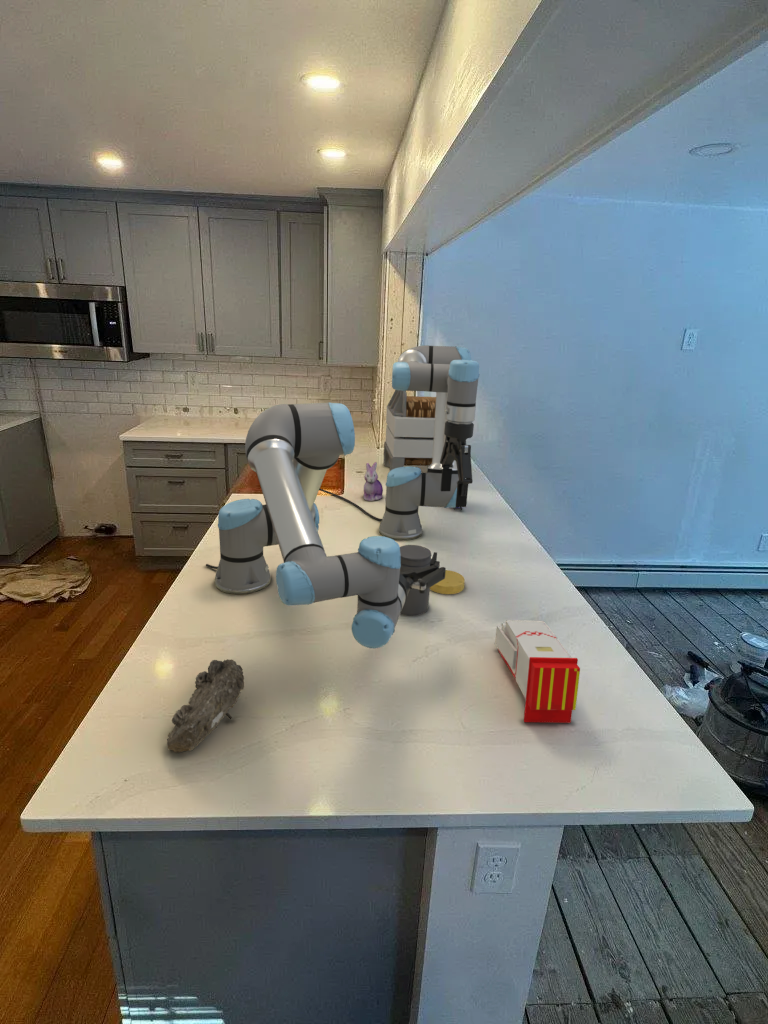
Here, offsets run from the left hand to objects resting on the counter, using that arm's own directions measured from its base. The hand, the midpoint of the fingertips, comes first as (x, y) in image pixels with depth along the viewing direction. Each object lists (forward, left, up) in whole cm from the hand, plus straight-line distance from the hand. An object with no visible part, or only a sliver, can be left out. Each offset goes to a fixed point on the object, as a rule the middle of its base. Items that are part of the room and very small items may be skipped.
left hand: (406, 553), depth 135 cm
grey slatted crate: (-19, +141, -20) cm, 143 cm away
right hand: (+8, +26, +6) cm, 28 cm away
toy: (+30, -14, -20) cm, 39 cm away
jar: (0, +11, -20) cm, 23 cm away
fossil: (-29, -42, -20) cm, 55 cm away
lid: (+8, +26, -18) cm, 32 cm away
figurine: (-31, +96, -20) cm, 103 cm away
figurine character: (+4, +97, -20) cm, 100 cm away
